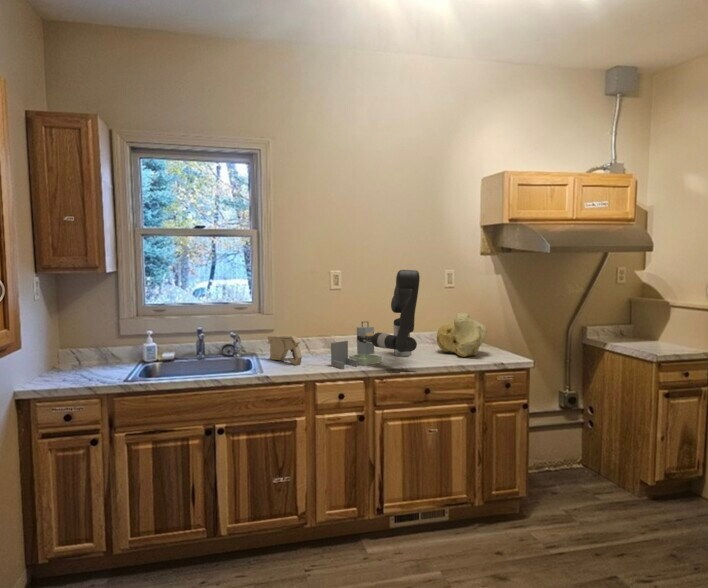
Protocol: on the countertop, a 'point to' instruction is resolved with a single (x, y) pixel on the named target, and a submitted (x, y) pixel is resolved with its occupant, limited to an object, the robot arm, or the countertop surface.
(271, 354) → the tan cutout panel
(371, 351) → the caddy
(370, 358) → the tray
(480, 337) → the sculpture
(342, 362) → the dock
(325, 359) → the countertop surface
